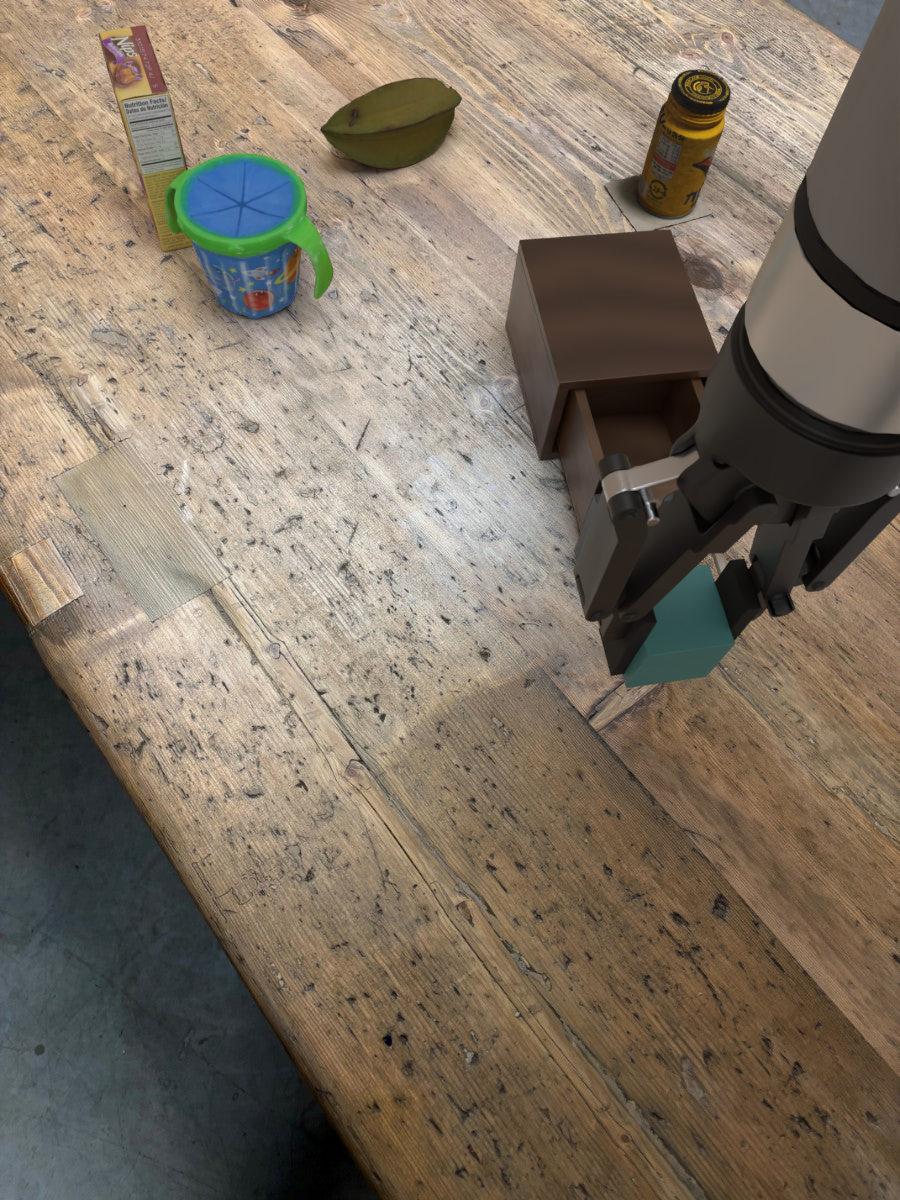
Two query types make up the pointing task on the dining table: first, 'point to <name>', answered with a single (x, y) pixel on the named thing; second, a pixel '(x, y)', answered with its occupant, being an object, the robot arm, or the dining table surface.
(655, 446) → the drawer
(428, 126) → the fruit
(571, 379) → the cabinet
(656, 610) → the block
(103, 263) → the dining table surface
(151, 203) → the candy box
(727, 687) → the dining table surface
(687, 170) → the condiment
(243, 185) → the snack cup
